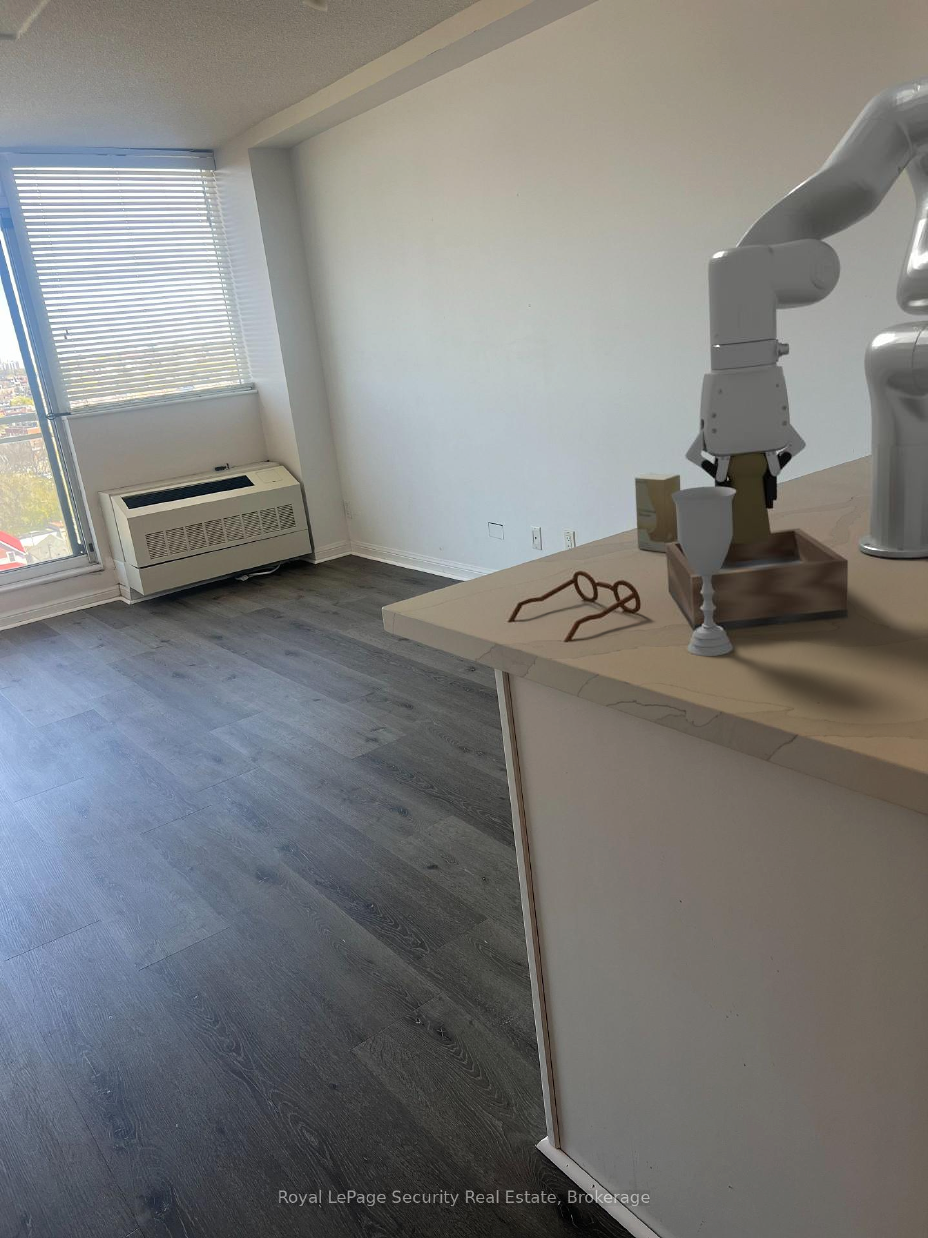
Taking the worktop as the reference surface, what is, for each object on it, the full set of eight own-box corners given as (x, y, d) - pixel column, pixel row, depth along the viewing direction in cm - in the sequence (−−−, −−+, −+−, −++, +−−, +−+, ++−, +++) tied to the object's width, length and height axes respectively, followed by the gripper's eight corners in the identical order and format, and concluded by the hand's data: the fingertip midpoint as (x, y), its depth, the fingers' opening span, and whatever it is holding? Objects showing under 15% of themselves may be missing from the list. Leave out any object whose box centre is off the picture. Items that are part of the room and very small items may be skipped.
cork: (774, 541, 108) (774, 451, 104) (723, 544, 109) (721, 455, 106) (768, 531, 113) (768, 445, 110) (719, 533, 115) (717, 449, 111)
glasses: (644, 617, 115) (641, 581, 114) (566, 645, 109) (562, 607, 107) (579, 600, 126) (576, 567, 125) (506, 624, 120) (501, 589, 118)
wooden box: (799, 577, 122) (799, 528, 120) (847, 617, 105) (847, 560, 103) (668, 591, 123) (665, 542, 121) (694, 632, 106) (691, 577, 104)
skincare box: (637, 549, 148) (632, 477, 144) (653, 543, 150) (648, 472, 147) (668, 553, 143) (664, 478, 139) (684, 546, 146) (680, 473, 142)
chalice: (671, 642, 104) (662, 492, 99) (727, 633, 104) (721, 483, 99) (691, 663, 97) (683, 502, 92) (751, 654, 97) (746, 493, 92)
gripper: (805, 349, 108) (805, 497, 113) (666, 365, 109) (672, 510, 114) (826, 350, 100) (825, 507, 106) (677, 367, 102) (683, 521, 107)
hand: (746, 507), depth 110 cm, fingers closed on cork, 4 cm apart
